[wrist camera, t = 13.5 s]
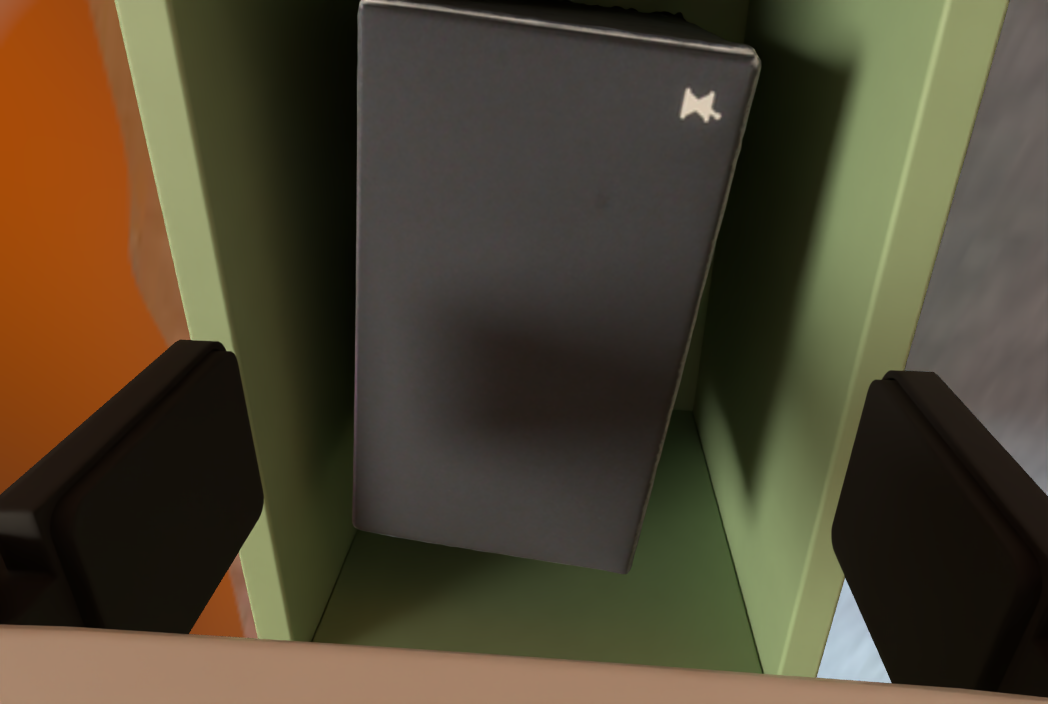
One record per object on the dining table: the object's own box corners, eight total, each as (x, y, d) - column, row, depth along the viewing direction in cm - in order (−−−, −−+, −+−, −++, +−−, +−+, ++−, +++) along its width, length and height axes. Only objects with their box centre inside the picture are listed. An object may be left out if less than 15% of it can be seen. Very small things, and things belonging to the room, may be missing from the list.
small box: (454, -19, 19) (334, -26, 10) (692, 13, 19) (790, 35, 10) (431, 329, 24) (335, 540, 15) (621, 356, 24) (643, 586, 15)
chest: (354, -83, 20) (72, -174, 9) (784, -81, 19) (1064, -175, 8) (395, 404, 27) (268, 691, 16) (709, 418, 26) (804, 728, 15)
